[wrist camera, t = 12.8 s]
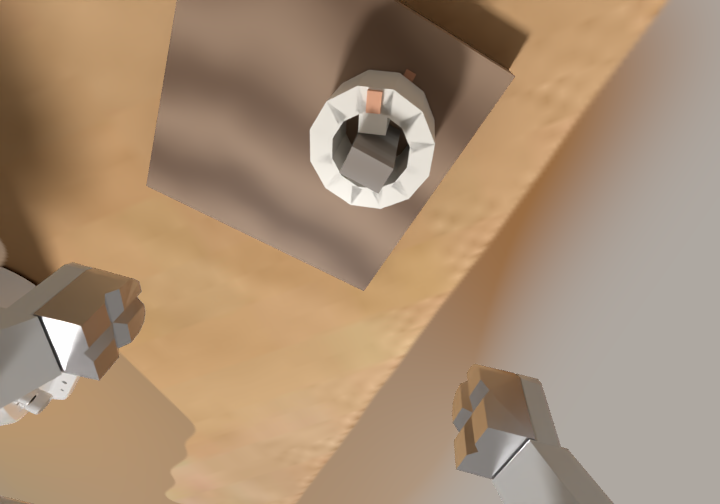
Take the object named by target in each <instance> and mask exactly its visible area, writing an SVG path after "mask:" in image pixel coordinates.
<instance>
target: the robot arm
mask: <svg viewBox="0 0 720 504" xmlns="http://www.w3.org/2000/svg"><path fill="white" fill-rule="evenodd" d="M141 292H142V291H141V287H140V282H139V281H138V280H135V279H132V278H129V277H125V276H122V275H118V274H114V273H111V272H107V271H104V270H100V269H96V268H92V267H88V266H84V265H81V264H77V263H69V264H66V265H64V266H62V267H61V268H60V269H58V270H57V271H56V272H54V273H53V274H52V275H50V276H49V277H48V278H46V279H45V280H44V281H42V282H41V283H40V284H38V285H37V286H35V285H34V284H33V283H31V282H29V281H28V280H26V279H25V278H23V277H21V276H19V275H17V274H16V273H14V272H11V271H9V270H7V269H5V268H2V267H0V426H1V425H6V424H11V423H14V422H17V421H19V420H20V419H21V418H22V417H23V416H24V415H25V414H26V413H27V412H28V411H29V412H31V413H34V414H39V413H40V412H41V411H42V410H43V409H44V408H45V407H46V406H47V405H48V404H49V402H50V401H51V399H60V400H64V399H66V398H67V397H68V396H69V395H70V394H71V393H72V391H73V389H74V388H75V386H76V384H77V382H78V380H79V378H80V376H81V377H86V378H90V379H95V380H100V379H101V378H102V377H103V376H104V374H105V373H106V372H107V371H108V370H109V369H110V367H111V366H112V365H113V364H114V363H115V361H116V360H117V359H118V358H119V348H120V347H122V346H124V345H127V344H129V343H131V342H132V341H133V340H134V338H135V337H136V336H137V335H138V333H139V332H140V329H141V327H142V325H143V323H144V319H145V307H144V304H143V303H142V302H141V301H140V300H139V299H138V297H137V296H138V295H139V294H140V293H141ZM467 378H468V381H466V382H464V383H461V384H460V385H459V387H458V389H457V391H456V393H455V397H454V401H453V410H452V416H453V424H454V425H455V427H456V428H457V430H458V431H459V434H458V435H457V437H456V439H455V440H454V448H455V462H456V469H457V470H460V471H464V472H467V473H471V474H475V475H478V476H482V477H485V478H489V479H493V480H492V483H493V485H494V487H495V488H496V490H497V492H498V494H499V496H500V498H501V500H502V501H503V503H504V504H613V502H612V501H611V500H610V499H609V498H608V496H607V495H606V494H605V493H604V492H603V490H602V489H601V488H600V487H599V486H598V484H597V483H596V482H595V481H594V480H593V479H592V477H591V476H590V475H589V474H588V473H587V471H586V470H585V469H584V468H583V467H582V465H581V464H580V463H579V462H578V461H577V459H576V458H575V457H574V456H573V455H572V454H571V452H570V451H569V450H568V449H566V448H563V447H561V446H560V443H559V439H558V436H557V433H556V429H555V426H554V423H553V420H552V416H551V413H550V410H549V407H548V403H547V400H546V397H545V393H544V390H543V387H542V384H541V382H540V381H539V380H538V379H536V378H532V377H527V376H524V375H519V374H515V373H512V372H508V371H504V370H499V369H495V368H491V367H486V366H483V365H478V364H474V365H472V366H471V367H470V369H469V370H468V372H467ZM0 504H32V503H28V502H24V501H20V500H16V499H12V498H8V497H4V496H0Z"/></svg>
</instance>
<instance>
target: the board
mask: <svg viewBox="0 0 720 504" xmlns="http://www.w3.org/2000/svg"><path fill="white" fill-rule="evenodd" d="M367 70H378V71H388V72H398V73H401V74H402V75H403V76H404V77H406V78H407V79H408V80H410V81H411V82H412V83H413V84H415V85H416V86H417V87H418V88H420V89H421V90H422V91H423V92H424V93H425V96H426V99H427V101H428V104H429V107H430V109H431V112H432V115H433V118H434V120H435V146H434V152H433V157H432V163H431V168H430V173H429V177H428V178H427V179H426V180H425V181H424V182H423V183H422V184H421V186H420V187H419V188H418V189H417V190H416V191H415V192H414V194H413V195H412V196H411V197H410V198H409V199H407V200H404V201H401V202H399V203H396V204H393V205H390V206H387V207H384V208H382V209H378V208H370V207H363V206H355V205H350V204H349V203H347V202H346V201H344V200H343V199H341V198H340V197H338V196H337V195H335V194H334V193H332V192H331V191H329V190H328V189H326V188H325V186H324V185H323V183H322V181H321V179H320V177H319V176H318V174H317V172H316V170H315V169H314V167H313V165H312V163H311V162H310V128H311V127H312V125H313V123H314V122H315V120H316V118H317V117H318V115H319V113H320V111H321V110H322V108H323V106H324V105H325V103H326V101H327V100H328V99H329V98H330V97H331V96H332V94H333V93H334V92H335V91H336V90H337V89H338V87H339V86H340V85H341V84H342V83H344V82H346V81H347V80H349V79H351V78H353V77H355V76H357V75H359V74H361V73H363V72H365V71H367ZM514 77H515V76H514V75H513V74H512V73H511V72H510V71H509V70H508V69H506V68H505V67H503V66H501V65H500V64H498V63H497V62H495V61H493V60H492V59H490V58H489V57H487V56H485V55H484V54H482V53H481V52H479V51H477V50H476V49H474V48H473V47H471V46H469V45H468V44H466V43H465V42H463V41H462V40H460V39H458V38H457V37H455V36H454V35H452V34H450V33H449V32H447V31H446V30H444V29H442V28H441V27H439V26H438V25H436V24H434V23H433V22H431V21H430V20H428V19H426V18H425V17H423V16H422V15H420V14H418V13H417V12H415V11H414V10H412V9H410V8H409V7H407V6H406V5H404V4H402V3H401V2H399V1H398V0H177V2H176V8H175V14H174V20H173V27H172V33H171V39H170V45H169V51H168V57H167V63H166V69H165V75H164V81H163V87H162V94H161V100H160V106H159V112H158V118H157V124H156V130H155V136H154V142H153V148H152V154H151V160H150V167H149V173H148V179H147V185H146V186H148V187H150V188H152V189H154V190H156V191H158V192H160V193H162V194H164V195H166V196H168V197H170V198H173V199H175V200H177V201H179V202H181V203H183V204H185V205H187V206H189V207H191V208H193V209H195V210H197V211H199V212H201V213H204V214H206V215H208V216H210V217H212V218H214V219H216V220H218V221H220V222H222V223H224V224H226V225H228V226H230V227H232V228H235V229H237V230H239V231H241V232H243V233H245V234H247V235H249V236H251V237H253V238H255V239H257V240H259V241H261V242H263V243H266V244H268V245H270V246H272V247H274V248H276V249H278V250H280V251H282V252H284V253H286V254H288V255H290V256H292V257H295V258H297V259H299V260H301V261H303V262H305V263H307V264H309V265H311V266H313V267H315V268H317V269H319V270H321V271H323V272H326V273H328V274H330V275H332V276H334V277H336V278H338V279H340V280H342V281H344V282H346V283H348V284H350V285H352V286H354V287H357V288H359V289H361V290H363V291H364V290H365V289H366V287H367V286H368V284H369V283H370V281H371V280H372V279H373V277H374V276H375V274H376V273H377V272H378V270H379V269H380V267H381V266H382V264H383V263H384V262H385V260H386V259H387V257H388V256H389V255H390V253H391V252H392V250H393V249H394V247H395V246H396V245H397V243H398V242H399V240H400V239H401V238H402V236H403V235H404V233H405V232H406V230H407V229H408V228H409V226H410V225H411V223H412V222H413V221H414V219H415V218H416V216H417V215H418V213H419V212H420V211H421V209H422V208H423V206H424V205H425V204H426V202H427V201H428V199H429V198H430V196H431V195H432V194H433V192H434V191H435V189H436V188H437V187H438V185H439V184H440V182H441V181H442V179H443V178H444V177H445V175H446V174H447V172H448V171H449V170H450V168H451V167H452V165H453V164H454V162H455V161H456V160H457V158H458V157H459V155H460V154H461V153H462V151H463V150H464V148H465V147H466V145H467V144H468V143H469V141H470V140H471V138H472V137H473V136H474V134H475V133H476V131H477V130H478V128H479V127H480V126H481V124H482V123H483V121H484V120H485V119H486V117H487V116H488V114H489V113H490V111H491V110H492V109H493V107H494V106H495V104H496V103H497V102H498V100H499V99H500V97H501V96H502V94H503V93H504V92H505V90H506V89H507V87H508V86H509V85H510V83H511V82H512V80H513V79H514ZM358 125H359V114H358V115H356V116H354V117H352V118H350V119H348V120H346V135H347V137H348V139H349V141H350V143H351V145H352V146H351V148H350V150H349V153H348V155H347V157H346V159H345V161H344V163H343V165H342V167H341V170H340V172H339V173H340V174H342V175H344V176H346V177H348V178H350V179H352V180H354V181H355V182H357V183H359V184H361V185H363V186H365V187H367V188H369V189H370V190H372V191H374V192H376V193H378V194H379V192H380V191H381V189H382V187H383V186H384V184H385V182H386V181H387V179H388V177H389V176H390V174H391V172H392V171H393V169H394V164H395V158H396V156H398V155H400V154H401V153H402V151H403V150H404V149H405V148H406V146H407V145H408V142H407V139H406V137H405V134H404V132H403V130H402V128H401V127H400V126H398V125H397V124H396V123H394V122H393V121H392V120H390V122H389V126H388V129H387V132H386V136H385V135H376V134H368V133H359V132H358Z"/></svg>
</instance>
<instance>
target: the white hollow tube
mask: <svg viewBox="0 0 720 504" xmlns="http://www.w3.org/2000/svg"><path fill="white" fill-rule="evenodd" d="M358 114H359V125H358V132H359V133H368V134H376V135H385V136H386V132H387V129H388V126H389V122H390V120H392V121H393V122H394V123H396V124H397V125H398V126H400V127H401V128H402V130H403V132H404V134H405V137H406V139H407V142H408V145H407V146H406V148H405V149H404V150H403V151H402V153H401V154H400V155H398V156H396V158H395V164H394V169H393V171H392V172H391V174H390V176H389V177H388V179H387V181H386V182H385V184H384V186H383V187H382V189H381V191H380V192H379V194H378V193H376V192H374V191H372V190H370V189H369V188H367V187H365V186H363V185H361V184H359V183H357V182H355V181H354V180H352V179H350V178H348V177H346V176H344V175H342V174H340V173H339V172H340V170H341V167H342V165H343V163H344V161H345V159H346V157H347V155H348V153H349V150H350V148H351V146H352V145H351V143H350V141H349V139H348V137H347V135H346V120H348V119H350V118H352V117H354V116H356V115H358ZM434 146H435V120H434V118H433V115H432V112H431V109H430V107H429V104H428V101H427V99H426V96H425V93H424V92H423V91H422V90H421V89H420V88H418V87H417V86H416V85H415V84H413V83H412V82H411V81H410V80H408V79H407V78H406V77H404V76H403V75H402V74H401V73H398V72H388V71H378V70H367V71H365V72H363V73H361V74H359V75H357V76H355V77H353V78H351V79H349V80H347V81H346V82H344V83H342V84H341V85H340V86H339V87H338V89H337V90H336V91H335V92H334V93H333V94H332V96H331V97H330V98H329V99H328V100H327V101H326V103H325V105H324V106H323V108H322V110H321V111H320V113H319V115H318V117H317V118H316V120H315V122H314V123H313V125H312V127H311V128H310V162H311V163H312V165H313V167H314V169H315V170H316V172H317V174H318V176H319V177H320V179H321V181H322V183H323V185H324V186H325V188H326V189H328V190H329V191H331V192H332V193H334V194H335V195H337V196H338V197H340V198H341V199H343V200H344V201H346V202H347V203H349V204H350V205H355V206H363V207H370V208H378V209H382V208H384V207H387V206H390V205H393V204H396V203H399V202H401V201H404V200H407V199H409V198H410V197H411V196H412V195H413V194H414V192H415V191H416V190H417V189H418V188H419V187H420V186H421V184H422V183H423V182H424V181H425V180H426V179H427V178H428V177H429V173H430V168H431V163H432V157H433V152H434Z"/></svg>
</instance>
